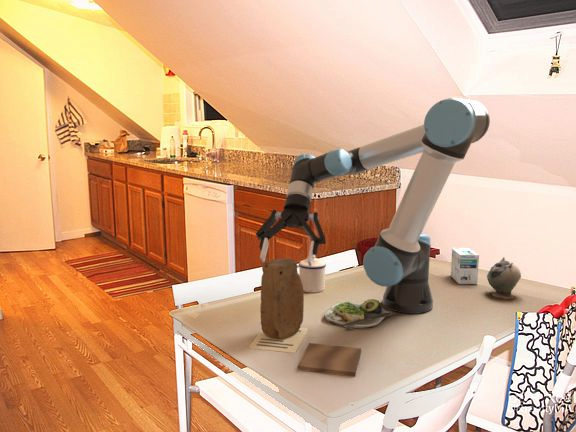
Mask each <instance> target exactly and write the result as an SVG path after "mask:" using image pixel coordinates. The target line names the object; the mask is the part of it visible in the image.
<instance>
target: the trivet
mask: <svg viewBox="0 0 576 432" xmlns="http://www.w3.org/2000/svg"><path fill="white" fill-rule="evenodd" d="M361 353H362V348H361V347H352V346H342V345H331V344H322V343H313V342H309V343H308V344H307V346H306V349H305V350H304V353H303V355H302V357H301V359H300V361H299V363H298V365H297V370H298V371H303V372H314V373H320V374H322V373H323V374H328V375H330V374H331V375H339V376H348V377H356V374H357V370H358V366H359V362H360V357H361Z"/></svg>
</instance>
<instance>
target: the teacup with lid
mask: <svg viewBox="0 0 576 432" xmlns="http://www.w3.org/2000/svg"><path fill="white" fill-rule="evenodd" d="M326 267H327V264H326V262H325V261H324V260H321V259H319V258H316V255H313V261H312V266H309V264H308V257H306V259H303V260H301V261H299V263H298V264H297V269H298V268H299V272H298V274H299V276H300V279H301V281H302V284H303V290H304V293H312V294H313V293H320V292H323V291H325V288H326Z"/></svg>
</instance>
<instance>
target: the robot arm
mask: <svg viewBox="0 0 576 432" xmlns="http://www.w3.org/2000/svg"><path fill="white" fill-rule="evenodd" d="M490 121H491V120H490V115H489V111H488V110H487V108H486V107H485V106H484V105H483V104H482V103H481V102H479V101H477V100H473V99H463V98H459V97H449V98H446V99H445V98H444V99H442V100H440V101H438V102H436V103H435V104H433V105H432V106H431V107H430V109H429V110H428V111H427V112H426V115H425V117H424V120H423V124H421V125H418V126H416V127H413V128H410V129H407V130H404V131H401V132H399V133H396V134H394V135H393V134H392V135H390V136H387V137H384V138H382V139H379V140H376V141H372V142H370V143H368V144H365V145H362V146H359V147H356V148H353V149H351V150H345V149H343V148H337V149H333V150H330V151H328V152H325V153H323V154H321V155H318V156H316V157H315V156H314V155H312V154H308V153H307V154H303V153H302V154H299V155H298V156H297V157H295V160H294V163H293V165H292V168H291V175H290V180H289V184H288V189H287V192H286V198H285V203H284V206H283V209H282V211H277V210H276V209H272V210H271V214H270V216H269V217H268V218H267V219H266V220H265V221H264V223H263V224H262V225H261V226H260V227H259V229H258V230H257V231H256V232H255V236H256V238H257V240H259V241H260V242H259V246H258V247H259V250H260V255H259V259H260V261H261V263H265V261H266V259H267V258H266V257H267V252H268V250H269V249H268V248H269V244H270V241H269V240H271V239H272V238H273V237H274V236H275V235H277V234H278V233H279V232H280V231H282V230H285V229H286V227H288V228H296V229H299V228H302V229H303V230H304V232H305V233H306V234H307V235H308V237H309V239H310V240H311V241H310V245H309V246H310V247H309V250H308V251H309V252H308V255H307V256H308V257H307V258H308V264H309V266H312V261H313V255H315V256H316V255H318V252H319V246H320V245H325V244H326V243H327V239H326V236H325V233H324V231H323V229H322V226H321V223H320V217H319V214H318V212H317V211H315V212H313V213H310V208H311V201H312V199H313V198H312V197H313V193H314V187H315V184H317V183H321V182H323V181H326V180H330V179H333V178H334V179H335V178H338V177H344V176H351V175H359V174H361V173H364V172H366V171H368V170H372V169H375V168H378V167H380V166H383V165H386V164H390V163H393V162H396V161H400V160H404V159H406V158H409V157H412V156H415V155H418V154H421V156H420V158H419V160H418V162H417V164H416V167H415V169H414V171H413V173H412V176H411V178H410V179H409V182H408V184H407V186H406V189H405V190H404V193H403V196H402V198H401V199H400V201H399V204H398V206H397V208H396V209H397V210H396V212H395V213H394V216H393V218H392V220H391V222H390V224H389V226H388V228H385V229H382V230H381V232H380V233H379V235H378V237H377V240H376V242H375V244H374V246H371V247H370V248H369V249H368V250H367V251H366V253H365V254H364V256H363V260H362V261H363V262H362V265H363V270H364V271H365V274H366V276H367V277H368V278H369V279H370V281H371V282H373V283H374V284H375V285H377V286H380V287H385V290H384V293H383V294H382V295H383V296H382V305H383V306H384V307H385V308H386V309H389V310H392V311H394V312H398V313H404V314H422V313H427V312H430V311H431V310H433V308H434V298H433V295H432V292H431V287H430V285H429V284H430V283H429V275H430V274H429V273H430V261H431V260H430V259H431V258H430V257H431V247H432V245H431V237H430V235H429V234H427V233H424V232H423V231H424V229H425V227H426V224H427V222H428V220H429V218H430V216H431V214H432V212H433V209H434V208H435V206H436V204H437V201H438V199H439V197H440V196H441V193H442V192H443V189H444V187H445V185H446V183H447V180H448V178H449V176H450V175H451V172H452V171H453V168H454V166H455V164H456V163H457V162H460V161H462V160H463V161H464V159H465V157H466V155H467V153H468V151H469V148H470V147H471V145H472V144H474V143H476V142H479V141H480V140H481V139H482V138H483V137H484V136H485V135H486V134H487V132H488V131H489V126H490V123H491V122H490ZM309 220H311V222H313V224H314V226H315V229H316V231H317V234H318V236H317V235H316V234H315V232H314V231H313V229H311V227H310V226H309V225H308V223H307V222H308V221H309ZM277 221H278V222H277ZM276 222H277V223H276Z"/></svg>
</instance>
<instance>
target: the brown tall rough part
mask: <svg viewBox="0 0 576 432" xmlns="http://www.w3.org/2000/svg"><path fill="white" fill-rule="evenodd" d="M297 263H298V262H297V261H296V260H294V259H293V258H292V259H291V258H286V257H281V258H277V259H275V258H274V259H272V260H268V261H266V262H263V264H262V266H261V267H262V269H261V270H262V276H261V281H260V310H259V311H260V326H261V330H262V331H263V332H264V333H265V334H266V335H267V336H269V337H271V338H287V337H290V336H292V335H293V334H295V333H296V332H298V331H299V329H300V327H301V325H302V324H303V321H304V311H305V310H304V306H305V305H304V303H305V295H304V293H305V292H304V290H303V284H302V281H301V279H300V276H299V272H298V268H297V265H298V264H297Z"/></svg>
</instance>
